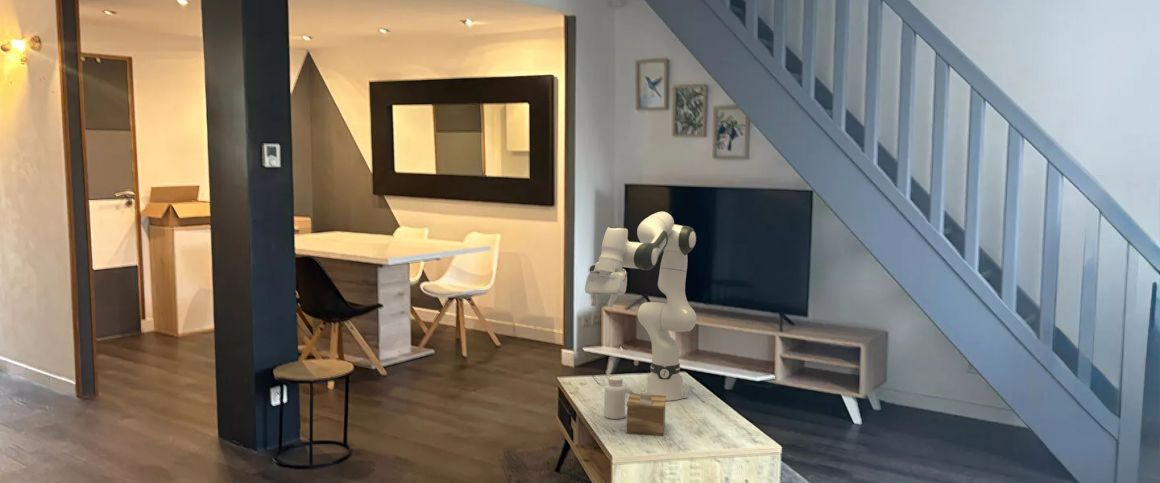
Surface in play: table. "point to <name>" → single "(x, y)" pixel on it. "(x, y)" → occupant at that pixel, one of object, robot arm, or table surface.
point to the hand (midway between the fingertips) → (601, 306)
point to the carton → (645, 420)
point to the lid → (646, 400)
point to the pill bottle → (614, 399)
